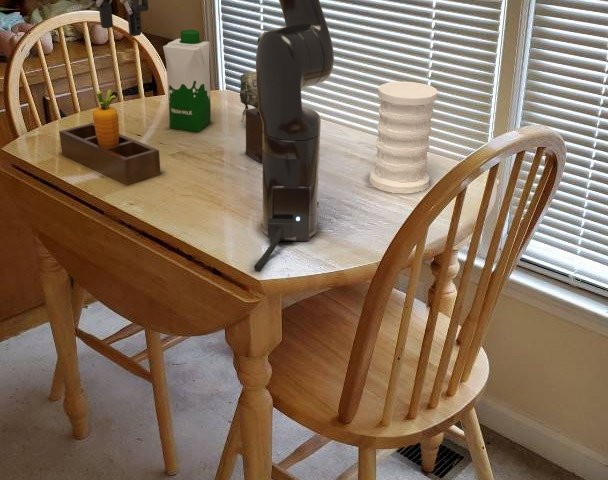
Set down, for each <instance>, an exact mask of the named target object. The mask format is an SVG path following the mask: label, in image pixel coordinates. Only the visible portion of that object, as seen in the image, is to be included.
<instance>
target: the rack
mask: <svg viewBox="0 0 608 480" xmlns="http://www.w3.org/2000/svg"><path fill="white" fill-rule="evenodd" d="M58 133H59V141H60V148H61V154H62V156H64V157H66V158H68V159H70V160H72V161H75V162H76V163H78V164H81V165H83V166H86V167H87V168H89V169H91V170H94V171H96V172H98V173H100V174H102V175H104V176H106V177H108V178H111V179H112V180H115V181H116V182H120V183H122V184H123V185H126V186H130V185H133V184H136V183H139V182H142V181H145V180H149V179H152V178H155V177H158V176H161V175H162V174H161V159H160V158H161V157H160V149H157V148H155V147H152V146H150V145H148V144H145V143H143V142H140V141H138V140H136V139H133V138H131V137H128V136H126V135H124V134H121V133H119V144H117V145H113V146H109V147H106V148H103V147H101V146H99V144H98V140H97V136H96V131H95V125H94V122H91V123H86V124H83V125H77V126H74V127H70V128H66V129H63V130H59V131H58Z"/></svg>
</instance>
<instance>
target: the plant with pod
mask: <svg viewBox="0 0 608 480" xmlns="http://www.w3.org/2000/svg"><path fill="white" fill-rule="evenodd" d="M266 32H267V31H264V32H262V33H261V34H260V35H259V36H258V37H257V44H258V43H259V41H260V39H261V37H262V36H263V35H264V34H265V33H266ZM239 98H240V103H242V104H243V105H244V106H245V107H244V110H243V112H242V115H241V120H240V122H242V123H243V121H244V119H245V118H246V110H248V109H249V106H251V107H253V108H258V98H257V79H256V72H252V71H247V72H245V73H243V74H241V75H240V90H239Z"/></svg>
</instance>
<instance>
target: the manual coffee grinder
mask: <svg viewBox="0 0 608 480" xmlns="http://www.w3.org/2000/svg"><path fill="white" fill-rule="evenodd" d="M244 154H245V155H247V156H248V157H250V158H252V159H254V160H255V161H257V162H259V163H261V164H263V123H262V119H261V116H260V113H259V109H258V108H255V107H252V108H248V110H246V115H245V153H244Z"/></svg>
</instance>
